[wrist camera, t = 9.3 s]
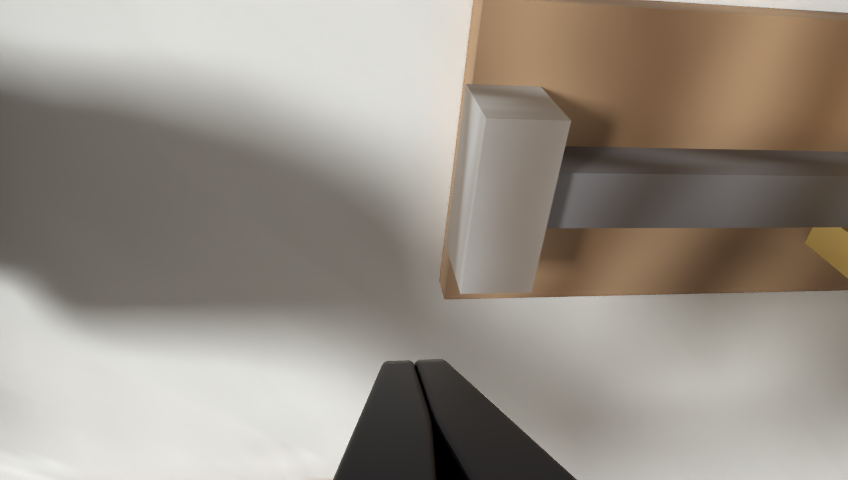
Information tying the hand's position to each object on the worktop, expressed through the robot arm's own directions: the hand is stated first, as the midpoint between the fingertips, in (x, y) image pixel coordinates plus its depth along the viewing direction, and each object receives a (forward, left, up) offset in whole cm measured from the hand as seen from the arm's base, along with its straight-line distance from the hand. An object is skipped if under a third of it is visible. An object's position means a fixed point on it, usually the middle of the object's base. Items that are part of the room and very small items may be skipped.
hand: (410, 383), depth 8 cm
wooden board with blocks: (+8, -13, -13) cm, 20 cm away
